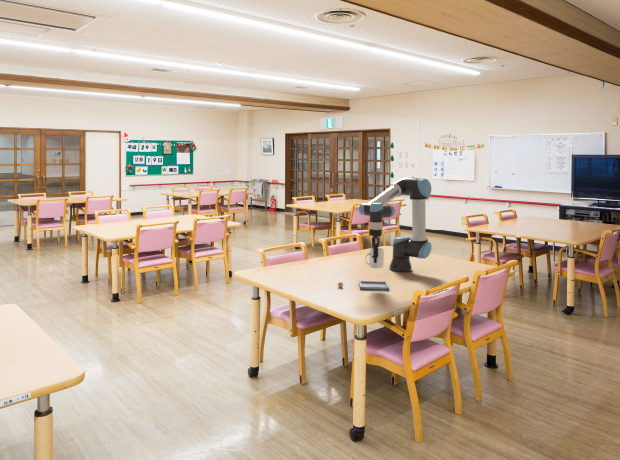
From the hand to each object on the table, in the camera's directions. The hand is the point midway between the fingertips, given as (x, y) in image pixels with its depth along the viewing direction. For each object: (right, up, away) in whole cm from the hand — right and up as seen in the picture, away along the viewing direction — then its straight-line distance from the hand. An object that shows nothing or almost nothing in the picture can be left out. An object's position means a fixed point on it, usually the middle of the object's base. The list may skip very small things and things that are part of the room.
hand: (374, 266), depth 292 cm
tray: (0, -13, +2) cm, 13 cm away
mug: (0, -1, -1) cm, 1 cm away
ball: (-20, -13, 0) cm, 24 cm away
